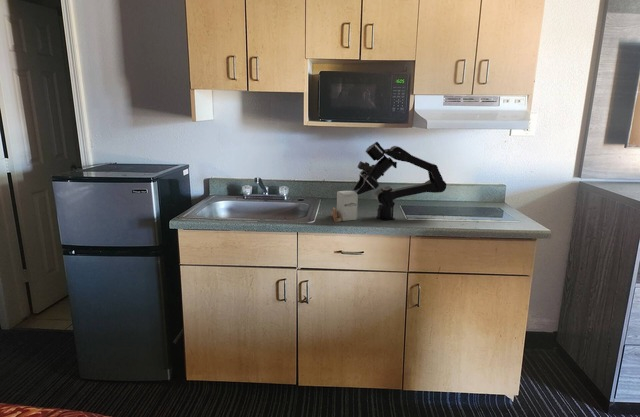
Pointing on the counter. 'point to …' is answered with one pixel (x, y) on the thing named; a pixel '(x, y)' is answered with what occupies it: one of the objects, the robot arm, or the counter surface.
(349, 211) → the supplement box
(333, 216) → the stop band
